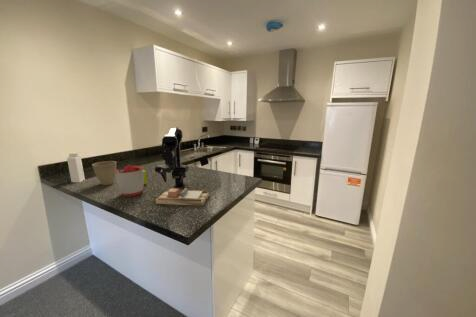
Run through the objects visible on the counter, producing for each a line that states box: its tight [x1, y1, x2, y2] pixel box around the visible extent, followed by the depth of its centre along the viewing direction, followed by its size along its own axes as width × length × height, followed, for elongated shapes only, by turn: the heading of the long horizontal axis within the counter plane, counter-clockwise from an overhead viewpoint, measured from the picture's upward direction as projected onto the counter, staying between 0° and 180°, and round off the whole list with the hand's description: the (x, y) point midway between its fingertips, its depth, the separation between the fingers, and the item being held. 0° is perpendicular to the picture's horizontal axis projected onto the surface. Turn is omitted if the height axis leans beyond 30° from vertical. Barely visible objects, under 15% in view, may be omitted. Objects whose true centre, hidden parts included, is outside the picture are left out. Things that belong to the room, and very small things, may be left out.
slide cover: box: [179, 187, 203, 199], centre depth 117 cm, size 11×11×4 cm
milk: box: [66, 153, 85, 183], centre depth 150 cm, size 6×6×22 cm
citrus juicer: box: [115, 164, 145, 198], centre depth 126 cm, size 16×17×20 cm
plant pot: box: [91, 160, 117, 186], centre depth 145 cm, size 15×15×16 cm
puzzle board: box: [155, 188, 210, 207], centre depth 118 cm, size 14×28×4 cm, turn 84°
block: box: [168, 188, 180, 198], centre depth 119 cm, size 5×5×6 cm
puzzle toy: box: [143, 169, 148, 185], centre depth 145 cm, size 10×10×10 cm
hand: (173, 182), depth 117 cm, fingers open, 9 cm apart
